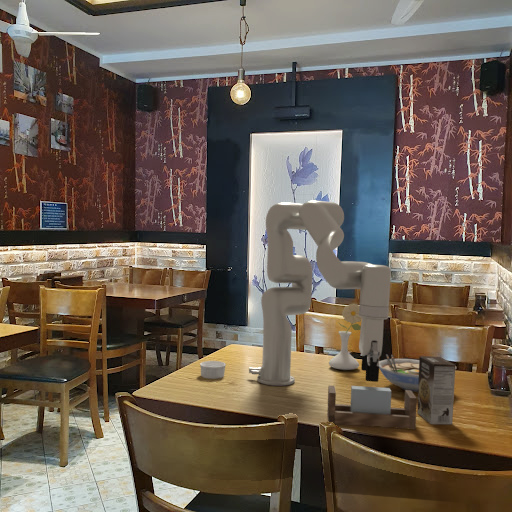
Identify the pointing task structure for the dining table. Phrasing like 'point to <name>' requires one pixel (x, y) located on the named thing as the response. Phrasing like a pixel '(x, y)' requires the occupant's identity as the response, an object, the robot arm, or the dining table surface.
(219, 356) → the dining table surface
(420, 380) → the coffee box
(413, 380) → the ramen bowl
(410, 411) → the frame
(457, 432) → the dining table surface
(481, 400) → the dining table surface
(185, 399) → the dining table surface
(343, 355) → the flower in vase
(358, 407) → the light grey rectangular block
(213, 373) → the ramekin
